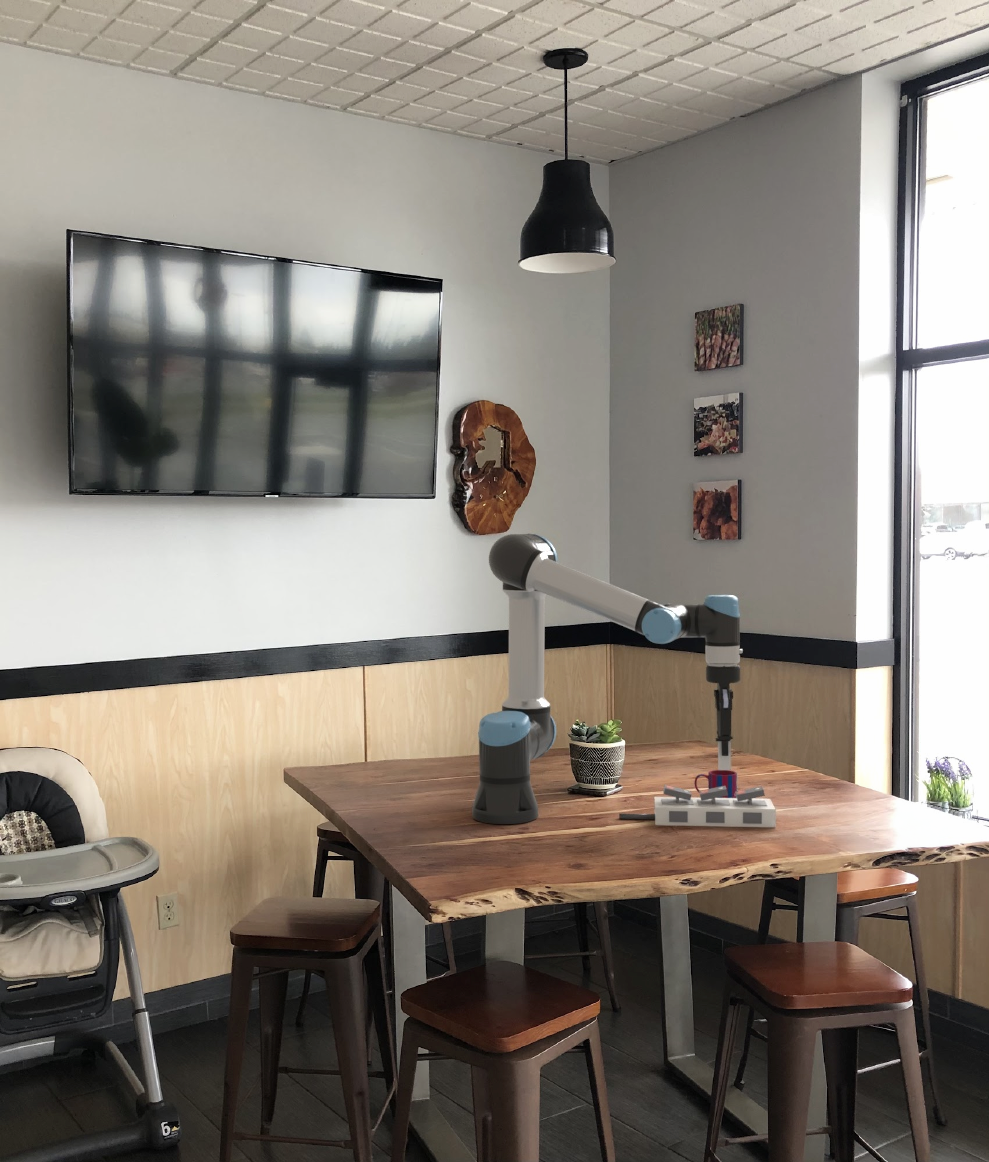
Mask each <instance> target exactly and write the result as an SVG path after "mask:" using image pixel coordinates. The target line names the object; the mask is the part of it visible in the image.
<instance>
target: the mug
mask: <svg viewBox="0 0 989 1162" xmlns="http://www.w3.org/2000/svg"><path fill="white" fill-rule="evenodd" d="M695 776H696V777H695V779H694V787H695V790H696V791H697V792H698V793H699V791H701V790H699V787H698V785H697V784H698V783H697V782H698V779H699V778H700V777H705V778H706V779H707V780H708V786H707V787H708V788H707V789H711V788H716V787H721V786H726V789H727V793H728V795H727V796H722V797H717V798H736V794H735V792H736V791H738V780H737V779H738V772H736V771H734V770H719V769H713V770H709V771H708V775H707V774H705V773H704V774H703V773H701V774H698V775H695Z"/></svg>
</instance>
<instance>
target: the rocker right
mask: <svg viewBox="0 0 989 1162" xmlns="http://www.w3.org/2000/svg"><path fill="white" fill-rule="evenodd" d="M735 794H736V798H737V800H738V801H743V800H747V799H752V798H756V799H758V798H761V797H762V798H763V797H765V796H766V795H765V790H764V788H763V786H756V787H751V788H746V789H740V790H737V791H736V792H735Z"/></svg>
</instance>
